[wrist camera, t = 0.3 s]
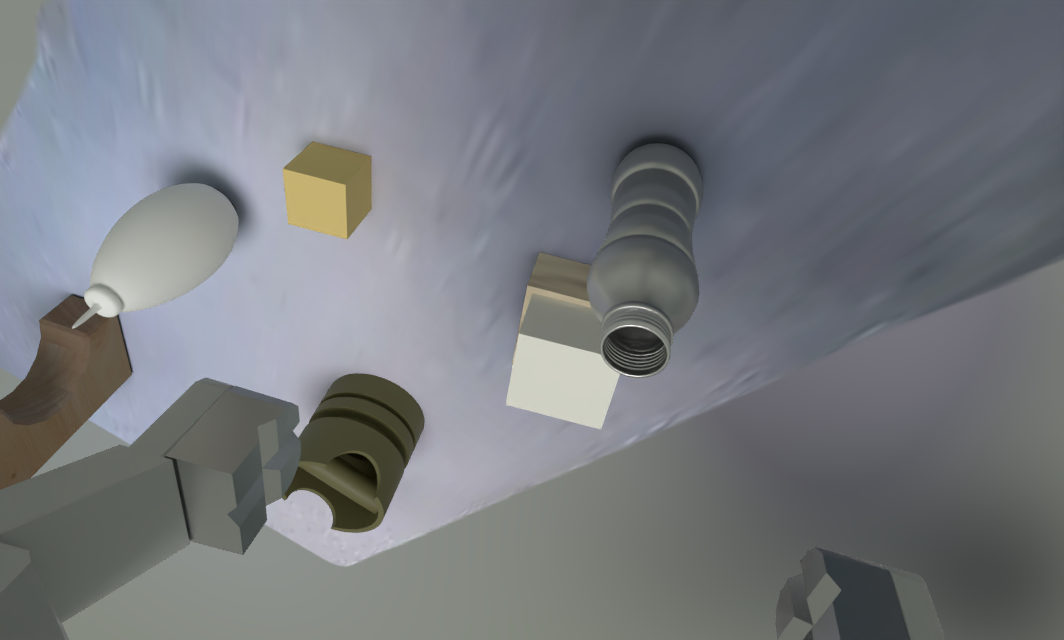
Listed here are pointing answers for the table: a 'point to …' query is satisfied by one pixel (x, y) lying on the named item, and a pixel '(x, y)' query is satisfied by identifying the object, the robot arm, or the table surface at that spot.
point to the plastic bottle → (647, 259)
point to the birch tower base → (557, 282)
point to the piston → (358, 449)
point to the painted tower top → (561, 364)
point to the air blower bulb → (161, 250)
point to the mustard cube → (328, 189)
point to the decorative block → (60, 388)
